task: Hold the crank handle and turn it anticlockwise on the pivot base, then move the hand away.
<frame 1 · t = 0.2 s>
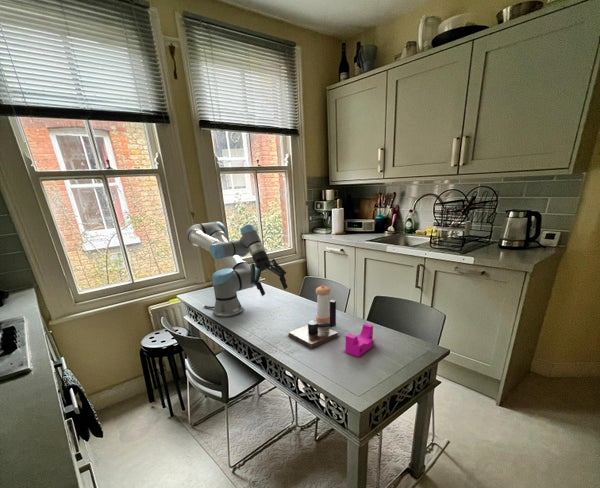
hand: (275, 291, 157), 15 cm above the table, tool tilted 35°, fingers open, 13 cm apart
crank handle: (321, 316, 141), point 10 cm above the table, hinge at 0.0°
pivot base: (313, 336, 145), on the table
toy block: (361, 347, 133), on the table
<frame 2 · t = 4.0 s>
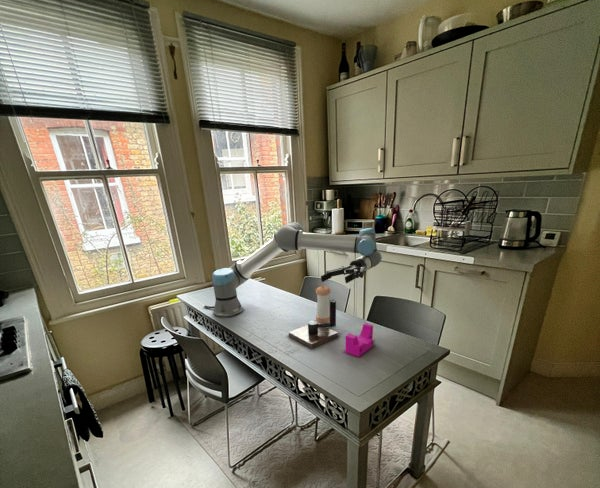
hand: (333, 279, 140), 25 cm above the table, tool horizontal, fingers open, 13 cm apart
nothing on the table moved.
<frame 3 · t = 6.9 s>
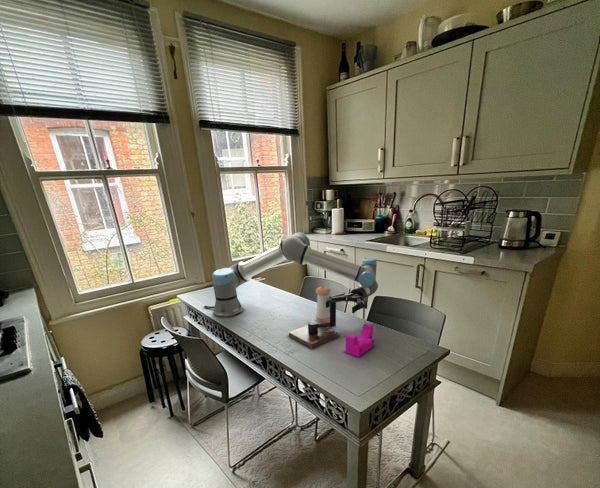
hand: (339, 307, 144), 12 cm above the table, tool horizontal, fingers open, 13 cm apart
nothing on the table moved.
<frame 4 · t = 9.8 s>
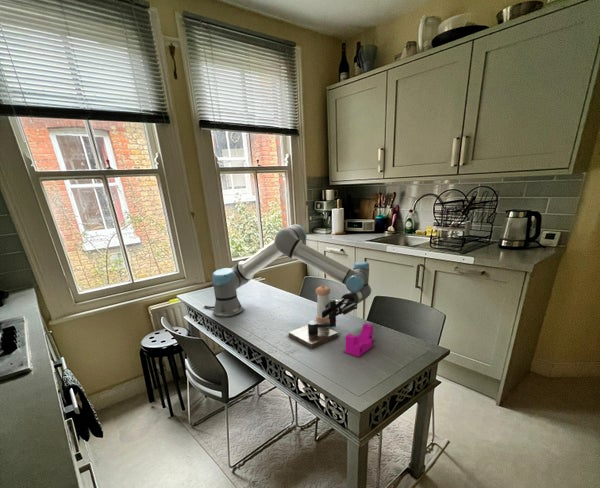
hand: (326, 315, 135), 12 cm above the table, tool horizontal, fingers closed on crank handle, 3 cm apart
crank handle: (321, 316, 141), point 10 cm above the table, hinge at 0.0°, touching gripper
everything else where it was.
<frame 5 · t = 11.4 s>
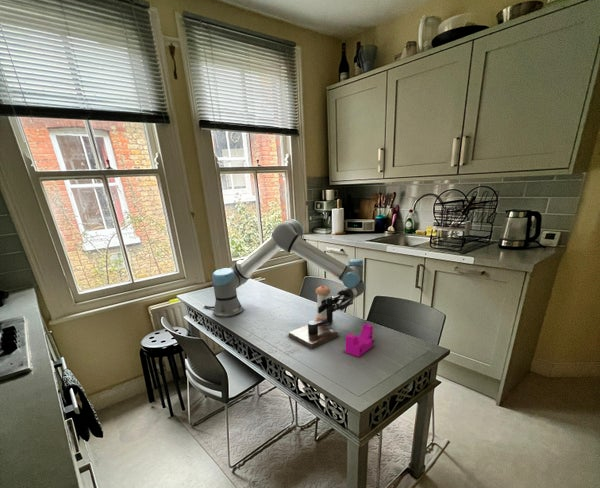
hand: (323, 311, 140), 12 cm above the table, tool horizontal, fingers open, 4 cm apart
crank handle: (320, 315, 142), point 10 cm above the table, hinge at 28.6°, touching gripper
everything else where it was.
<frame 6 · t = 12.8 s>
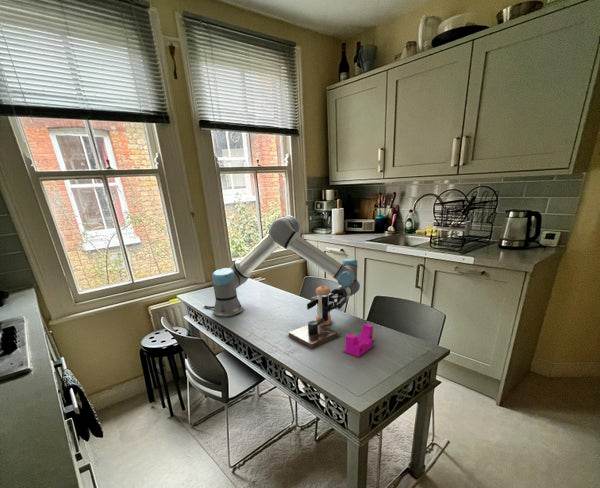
hand: (316, 308, 143), 12 cm above the table, tool horizontal, fingers open, 9 cm apart
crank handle: (318, 314, 143), point 10 cm above the table, hinge at 48.6°
everything else where it was.
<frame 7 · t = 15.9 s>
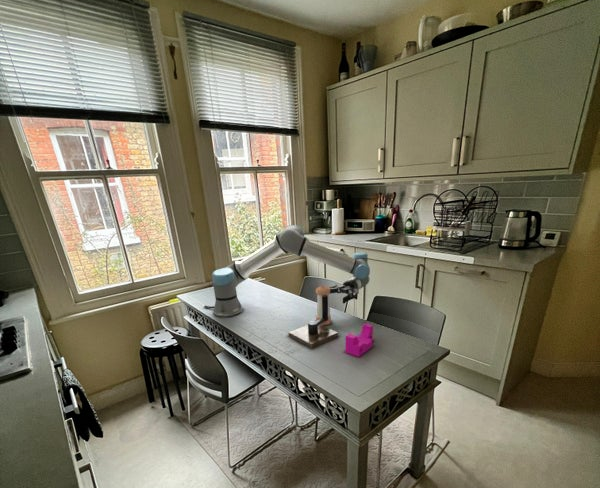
hand: (331, 298, 153), 13 cm above the table, tool horizontal, fingers open, 13 cm apart
nothing on the table moved.
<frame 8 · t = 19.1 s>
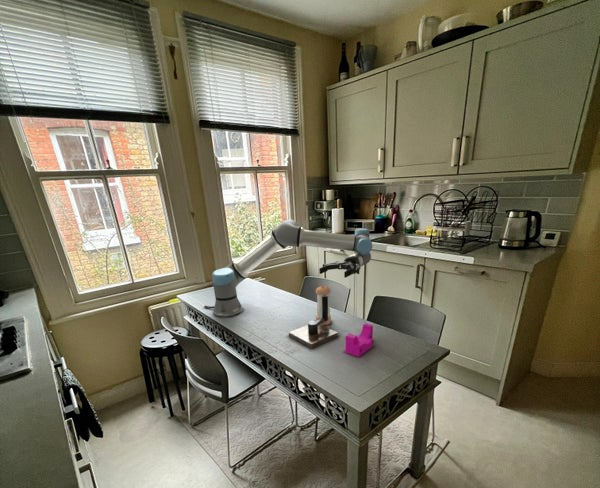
hand: (332, 272, 148), 25 cm above the table, tool horizontal, fingers open, 13 cm apart
nothing on the table moved.
at the end: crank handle at +49° (first picture: +0°); the gripper is holding nothing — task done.
